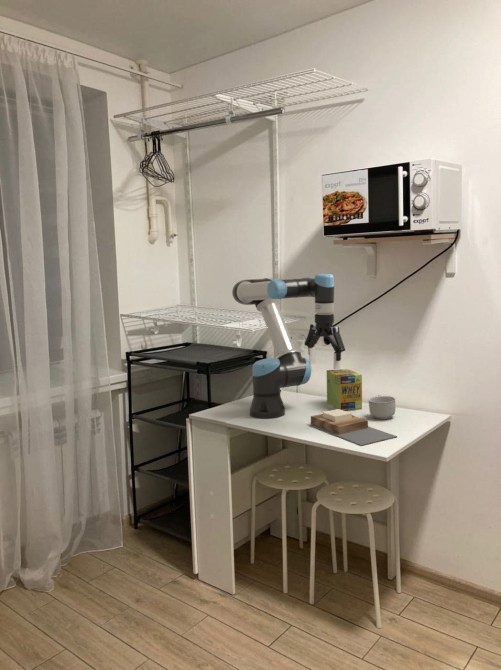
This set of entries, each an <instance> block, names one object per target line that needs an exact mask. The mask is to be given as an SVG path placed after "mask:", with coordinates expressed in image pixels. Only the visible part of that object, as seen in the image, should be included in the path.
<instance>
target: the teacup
mask: <svg viewBox="0 0 501 670" xmlns="http://www.w3.org/2000/svg"><path fill="white" fill-rule="evenodd" d="M367 401H368V409H369V413H370V415H371V416H372V417H373V418H375V419H377V420H387V419H391V418H392V417H393V416H394V415H395V413H396V397H394V396H390V395H381V394H380V395H377V396H371V397H369V398H368V399H367Z"/></svg>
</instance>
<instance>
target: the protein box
mask: <svg viewBox="0 0 501 670" xmlns="http://www.w3.org/2000/svg"><path fill="white" fill-rule="evenodd" d="M326 404H327V405H329V406H330V407H332V408H333V409H335V410H336V409H340V410H343V411H346V412H349V411H357V410H363V375H362V373H359V372H356V371H354V370H352V369H349V368H342V369H341V368H339V369H329V370H326Z"/></svg>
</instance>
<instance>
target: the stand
mask: <svg viewBox="0 0 501 670" xmlns="http://www.w3.org/2000/svg"><path fill="white" fill-rule="evenodd" d="M310 425H316V426H319V427H321V428H324V429H326V430H329V431H332V432H334V433H337V434H344V433H348V432H352V431H357V430H361V429H366V428H368V426H369V420H368V419H365V418H362V417H359V416H357V415H353V414H352V418H350V419H346V420H341V421H336V422H335V421H332V420H329V419H327V418H324V417H323V413H319V414H314V415H310Z"/></svg>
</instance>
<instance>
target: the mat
mask: <svg viewBox="0 0 501 670" xmlns="http://www.w3.org/2000/svg"><path fill="white" fill-rule="evenodd" d="M310 427H312V428H314V429H317V430H319V431H322V432H324V433H327V434H329V435H333V436H335V437H336V438H337V437H338V438H340V439H342V440H345V441H347V442H350V443H352V444H355V445H357V446H360V447H363V446H368V445H371V444H375V443H379V442H383V441H387V440H392V439H395V438H398V435H394V434H392V433H388V432H386V431H383V430H380V429H377V428H374V427H371V426H369V425H368V428H366V429H361V430H357V431H352V432H348V433H344V434H337V433H334V432H332V431H329V430H326V429H324V428H321V427H319V426H316V425H313V424H310Z"/></svg>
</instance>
